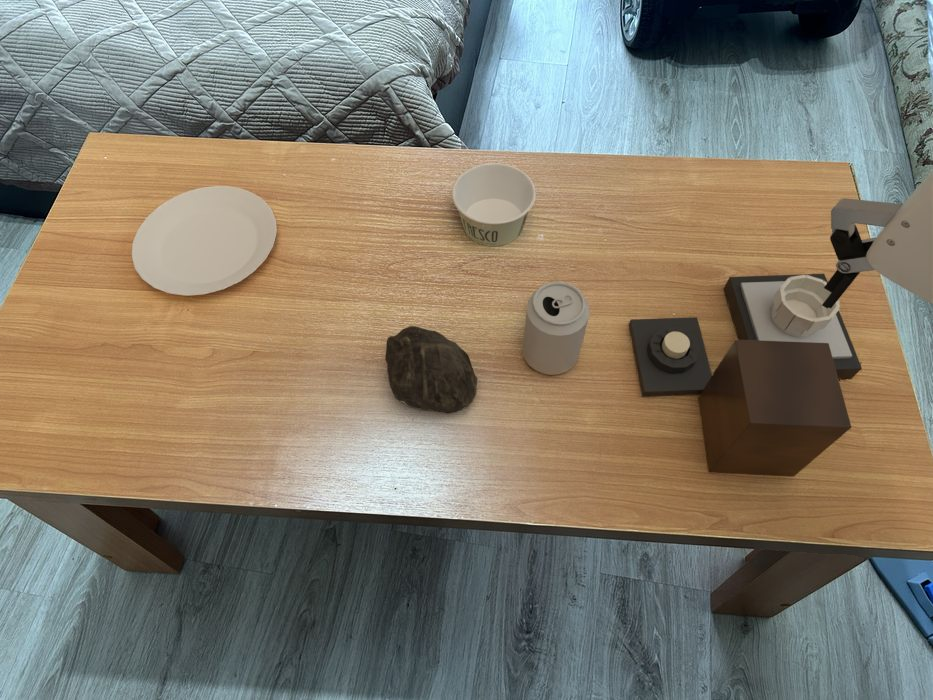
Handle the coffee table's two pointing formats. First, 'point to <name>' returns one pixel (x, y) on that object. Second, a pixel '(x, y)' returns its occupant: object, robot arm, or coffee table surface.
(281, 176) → the coffee table surface
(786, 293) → the bowl
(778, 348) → the stand
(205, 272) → the plate
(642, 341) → the pad
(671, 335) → the button
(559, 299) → the can
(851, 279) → the robot arm
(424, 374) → the rock
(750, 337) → the scale
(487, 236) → the food container
